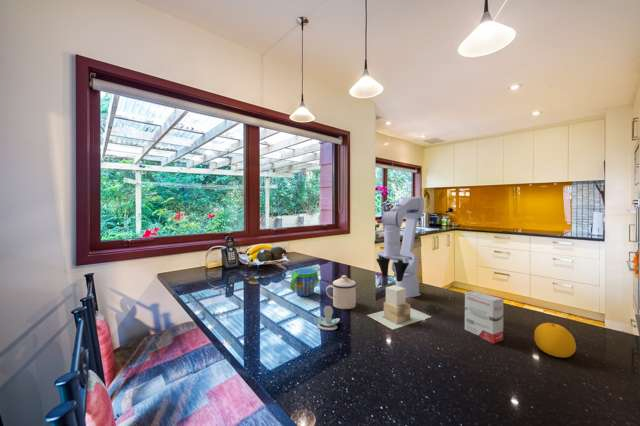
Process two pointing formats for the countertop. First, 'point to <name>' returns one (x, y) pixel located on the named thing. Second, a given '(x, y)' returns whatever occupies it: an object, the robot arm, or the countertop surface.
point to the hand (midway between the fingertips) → (391, 278)
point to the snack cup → (304, 281)
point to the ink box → (484, 316)
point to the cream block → (395, 295)
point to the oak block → (397, 312)
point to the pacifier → (327, 320)
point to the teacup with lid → (343, 293)
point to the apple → (555, 340)
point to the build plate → (392, 325)
